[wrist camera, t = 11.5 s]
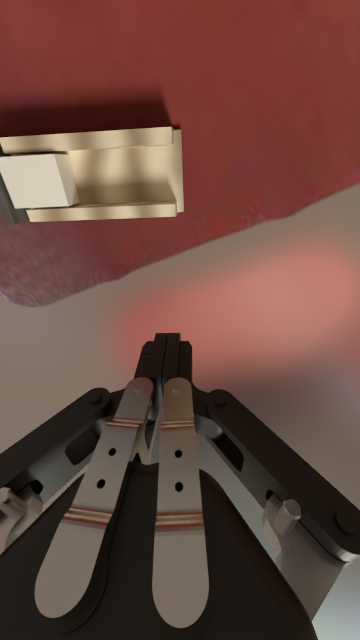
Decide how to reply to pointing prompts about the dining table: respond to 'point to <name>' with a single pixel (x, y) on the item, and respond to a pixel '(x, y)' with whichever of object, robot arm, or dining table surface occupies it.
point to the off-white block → (39, 180)
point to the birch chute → (106, 174)
